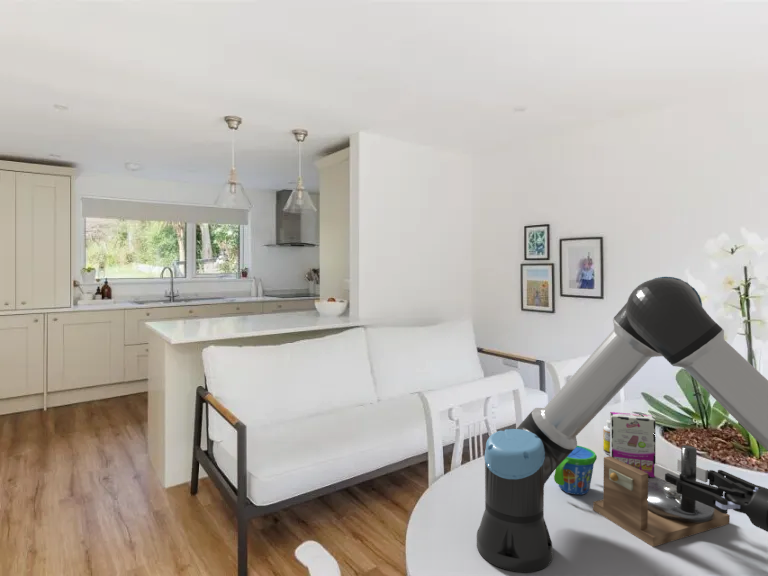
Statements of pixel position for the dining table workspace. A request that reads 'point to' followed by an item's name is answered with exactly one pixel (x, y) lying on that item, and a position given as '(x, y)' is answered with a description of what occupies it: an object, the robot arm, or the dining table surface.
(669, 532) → the levelling stand
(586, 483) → the snack cup
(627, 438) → the candy bar box
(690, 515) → the dial
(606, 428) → the supplement bottle
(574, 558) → the dining table surface
